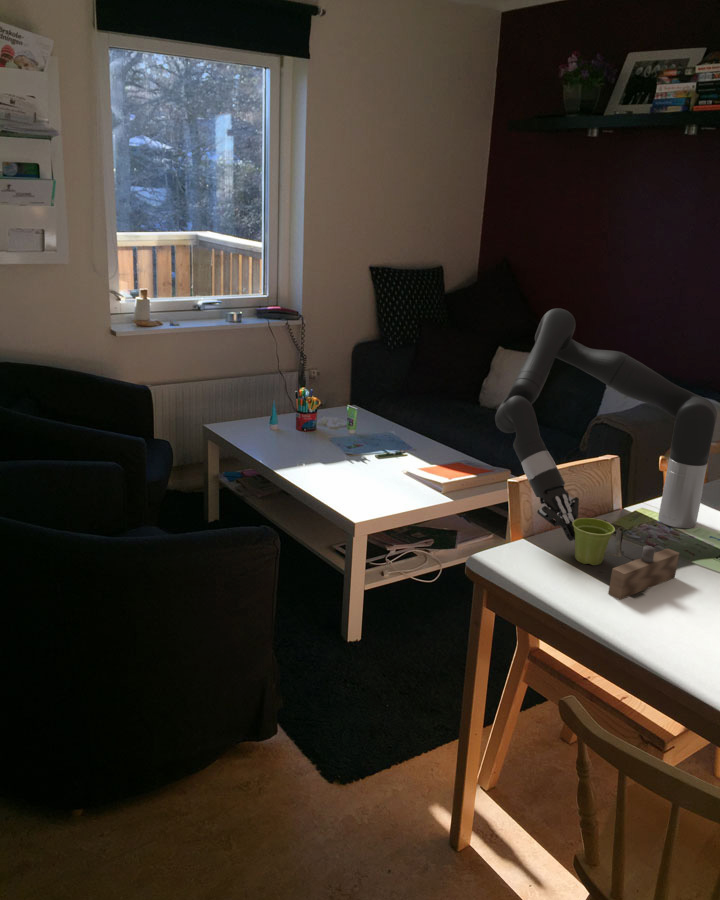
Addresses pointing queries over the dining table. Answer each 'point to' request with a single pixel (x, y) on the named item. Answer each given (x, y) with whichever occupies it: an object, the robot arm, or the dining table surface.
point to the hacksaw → (618, 542)
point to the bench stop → (643, 572)
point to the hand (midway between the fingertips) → (574, 539)
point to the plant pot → (591, 539)
